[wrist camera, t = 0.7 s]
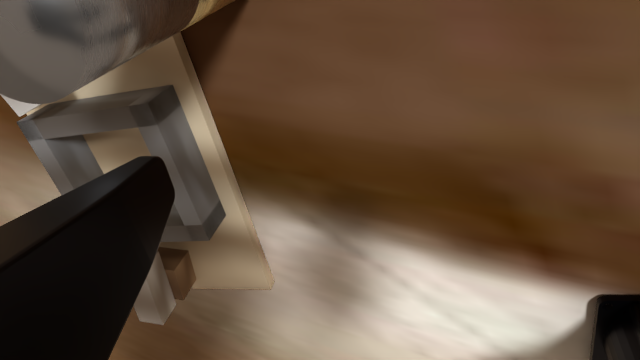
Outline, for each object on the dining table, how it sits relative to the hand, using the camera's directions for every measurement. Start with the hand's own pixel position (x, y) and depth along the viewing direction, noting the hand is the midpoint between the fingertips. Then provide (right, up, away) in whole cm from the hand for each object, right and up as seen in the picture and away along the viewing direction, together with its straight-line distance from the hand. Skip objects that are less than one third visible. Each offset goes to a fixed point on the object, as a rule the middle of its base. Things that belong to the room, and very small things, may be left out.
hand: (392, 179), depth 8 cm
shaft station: (-12, +2, +20) cm, 24 cm away
